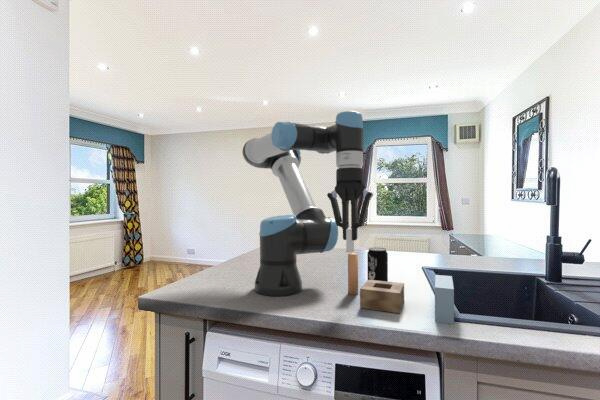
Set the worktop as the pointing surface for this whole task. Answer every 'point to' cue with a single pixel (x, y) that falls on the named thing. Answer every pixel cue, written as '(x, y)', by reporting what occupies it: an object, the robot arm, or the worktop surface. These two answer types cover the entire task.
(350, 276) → the dowel
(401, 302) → the socket block
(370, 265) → the beverage can
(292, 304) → the worktop surface
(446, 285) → the wall
